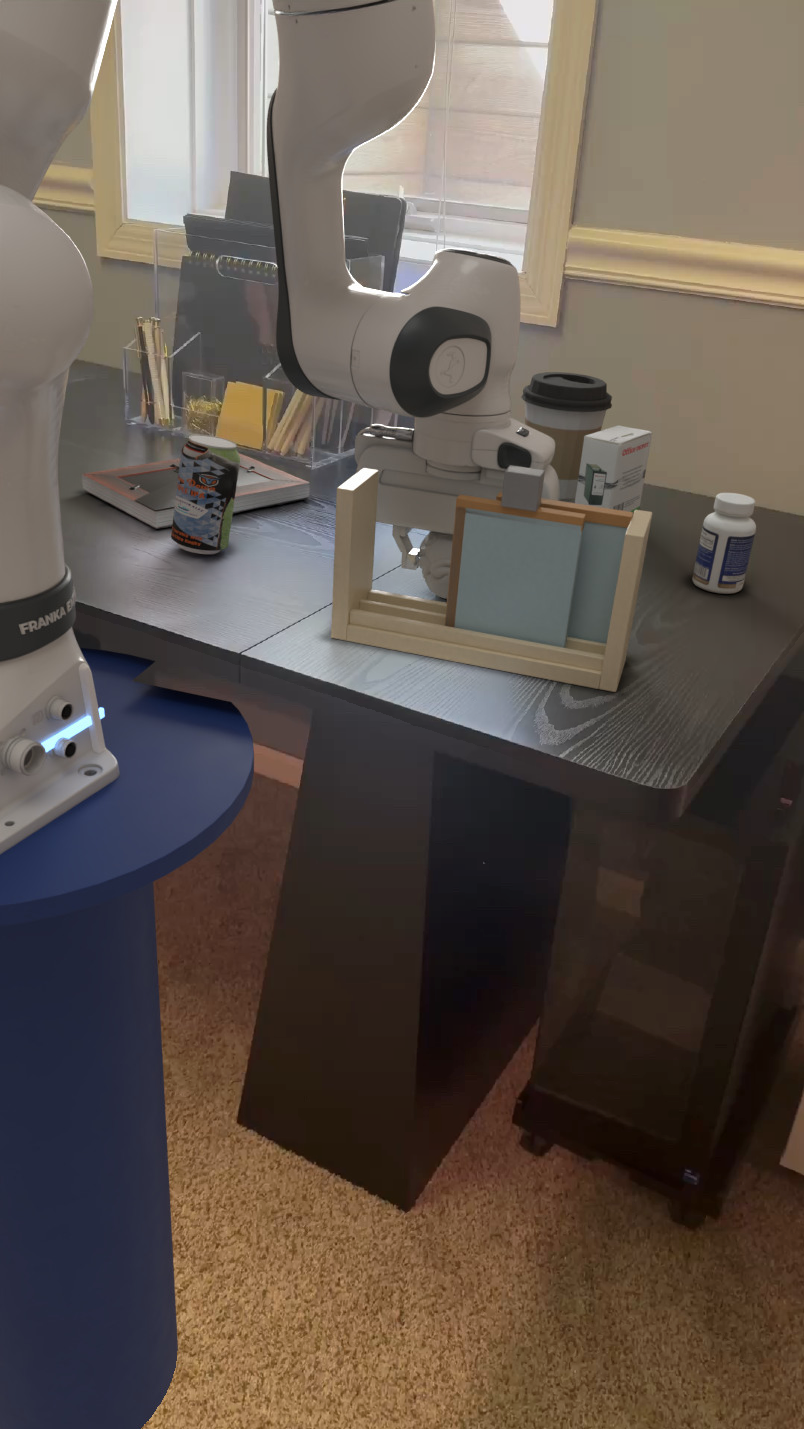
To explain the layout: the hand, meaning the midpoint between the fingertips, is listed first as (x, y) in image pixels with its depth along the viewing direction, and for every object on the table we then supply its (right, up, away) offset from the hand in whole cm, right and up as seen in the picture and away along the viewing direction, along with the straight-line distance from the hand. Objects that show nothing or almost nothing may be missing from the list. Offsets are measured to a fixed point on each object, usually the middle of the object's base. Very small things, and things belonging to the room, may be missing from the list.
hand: (448, 574), depth 109 cm
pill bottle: (+29, 0, +9) cm, 31 cm away
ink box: (+20, +8, +23) cm, 31 cm away
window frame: (+2, -8, -10) cm, 13 cm away
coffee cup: (+15, +14, +33) cm, 39 cm away
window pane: (+4, -8, -12) cm, 15 cm away
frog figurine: (0, -2, +1) cm, 2 cm away
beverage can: (-26, +3, +8) cm, 27 cm away
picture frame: (-29, +12, +24) cm, 40 cm away
